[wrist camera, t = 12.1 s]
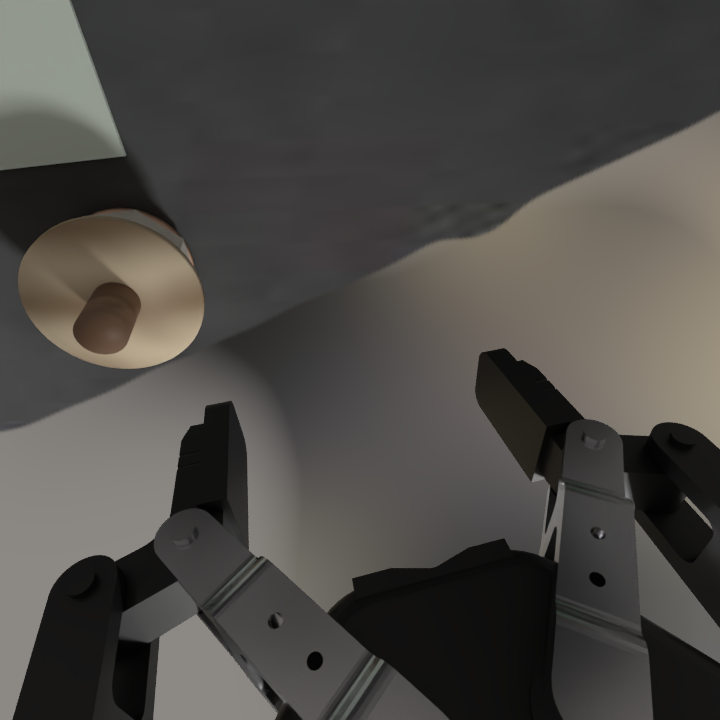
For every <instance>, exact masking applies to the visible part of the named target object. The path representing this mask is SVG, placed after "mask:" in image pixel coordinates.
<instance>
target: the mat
mask: <svg viewBox="0 0 720 720" xmlns="http://www.w3.org/2000/svg"><path fill="white" fill-rule="evenodd" d="M123 156H126V153H125V150H124V147H123V144H122V141H121V139H120V136H119V133H118V130H117V128H116V125H115V122H114V119H113V116H112V114H111V111H110V108H109V105H108V103H107V100H106V97H105V94H104V91H103V89H102V86H101V83H100V80H99V78H98V75H97V72H96V69H95V66H94V64H93V61H92V58H91V55H90V52H89V50H88V47H87V44H86V41H85V39H84V36H83V33H82V30H81V27H80V25H79V22H78V19H77V16H76V14H75V11H74V8H73V5H72V2H71V0H0V170H7V169H16V168H25V167H34V166H43V165H51V164H60V163H69V162H78V161H87V160H96V159H105V158H114V157H123Z"/></svg>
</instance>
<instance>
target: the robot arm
mask: <svg viewBox="0 0 720 720" xmlns="http://www.w3.org/2000/svg"><path fill="white" fill-rule="evenodd" d="M475 392H476V398H477V401H478V404H479V406H480V407H481V409H482V410H483V412H484V413H485V415H486V416H487V418H488V419H489V421H490V422H491V423H492V425H493V426H494V428H495V429H496V431H497V432H498V434H499V435H500V437H501V438H502V440H503V441H504V443H505V444H506V446H507V447H508V449H509V450H510V451H511V453H512V454H513V456H514V457H515V459H516V460H517V462H518V463H519V464H520V466H521V468H522V469H523V471H524V472H525V473H526V475H527V476H528V478H529V479H530V481H531V482H535V481H539V480H543V479H546V481H547V482H548V483H549V488H548V492H547V500H546V509H545V517H544V525H543V533H542V541H541V546H540V551H539V555H536V554H533V553H529V552H525V551H518V550H510V548H509V546H508V545H507V543H506V541H505V539H500V540H496V541H492V542H488V543H485V544H481V545H478V546H473V547H470V548H468V549H466V550H464V551H462V552H461V553H459V554H457V555H455V556H454V557H452V558H450V559H449V560H447V561H446V562H444V563H442V564H440V565H439V566H437V567H434V568H390V569H386V570H382V571H379V572H375V573H371V574H367V575H364V576H360V577H356V578H353V579H352V581H353V587H354V591H352V592H351V593H349V594H347V595H346V596H344V597H343V598H342V599H341V600H339V601H338V602H337V603H336V604H335V605H334V606H333V607H332V608H331V609H330V610H329V612H328V613H326V612H325V611H324V610H323V609H322V608H321V607H320V606H319V605H317V604H316V603H315V602H314V601H313V600H312V599H311V598H310V597H309V596H308V595H307V594H305V593H304V592H303V591H302V590H301V589H300V588H299V587H298V586H297V585H296V584H295V583H293V582H292V581H291V580H290V579H289V578H288V577H287V576H286V575H285V574H284V573H283V572H281V571H280V570H279V569H278V568H277V567H276V566H275V565H274V564H273V563H271V562H270V561H269V560H268V559H266V558H265V557H262V556H261V557H259V558H257V557H256V556H254V555H253V554H252V553H251V552H250V551H249V546H248V545H249V541H248V487H247V452H246V444H245V439H244V436H243V432H242V429H241V426H240V423H239V420H238V417H237V414H236V411H235V408H234V405H233V403H232V401H228V402H223V403H218V404H213V405H208V406H206V408H205V416H204V424H199V425H194V426H191V427H190V428H189V430H188V432H187V433H186V434H185V436H184V438H183V439H182V441H181V448H180V458H179V462H178V470H177V475H176V481H175V488H174V495H173V501H172V508H171V514H170V518H169V519H167V520H166V521H165V522H164V523H163V524H162V525H161V527H160V528H159V530H158V532H157V533H156V536H155V539H153V540H152V541H151V542H150V543H148V544H147V545H145V546H143V547H142V548H140V549H138V550H136V551H134V552H132V553H131V554H129V555H127V556H125V557H123V558H121V559H119V560H117V561H115V562H114V560H113V559H111V558H110V557H107V556H102V555H96V556H91V557H88V558H85V559H83V560H81V561H79V562H77V563H75V564H74V565H72V566H71V567H70V568H68V569H67V570H66V571H65V572H64V573H63V574H62V575H61V576H60V577H59V578H58V580H57V581H56V582H55V584H54V586H53V587H52V589H51V591H50V594H49V596H48V600H47V603H46V607H45V610H44V613H43V617H42V620H41V624H40V628H39V631H38V634H37V638H36V641H35V644H34V648H33V651H32V655H31V658H30V662H29V665H28V669H27V672H26V675H25V679H24V683H23V686H22V689H21V692H20V696H19V699H18V703H17V706H16V710H15V713H14V716H13V720H153V712H154V699H155V687H156V674H157V661H158V649H159V637H160V636H161V635H163V634H164V633H166V632H167V631H169V630H171V629H172V628H174V627H176V626H177V625H179V624H181V623H182V622H184V621H186V620H187V619H189V618H190V617H192V616H194V615H195V614H197V615H198V617H199V618H200V619H201V620H202V621H203V623H204V624H205V625H206V626H207V627H208V629H209V630H210V631H211V632H212V633H213V635H214V636H215V637H216V638H217V639H218V640H219V642H220V643H221V644H222V645H223V646H224V648H225V649H226V650H227V651H228V652H229V653H230V655H231V656H232V657H233V658H234V659H235V661H236V662H237V663H238V665H240V667H241V669H242V670H243V671H244V672H245V674H246V675H247V677H248V678H249V679H250V680H251V682H252V683H253V684H254V685H255V687H256V688H257V689H258V690H259V692H260V693H261V694H262V695H263V696H264V698H265V699H266V700H267V701H268V702H269V704H270V705H271V706H272V707H273V708H274V709H275V711H276V712H277V713H278V714H277V717H276V719H275V720H720V663H718V662H717V661H715V660H713V659H712V658H710V657H709V656H707V655H705V654H704V653H702V652H700V651H699V650H697V649H696V648H694V647H692V646H691V645H689V644H687V643H686V642H684V641H682V640H681V639H679V638H677V637H676V636H674V635H673V634H671V633H669V632H667V631H666V630H664V629H663V628H661V627H660V626H658V625H656V624H655V623H653V622H651V621H650V620H648V619H646V618H645V617H643V616H642V615H640V603H639V587H638V570H637V569H638V568H637V553H636V535H635V519H636V521H637V522H638V523H639V524H640V526H641V527H642V528H643V530H644V531H645V532H646V533H647V535H648V536H649V537H650V539H651V540H652V541H653V543H654V544H655V545H656V546H657V548H658V549H659V550H660V552H661V553H662V554H663V555H664V557H665V558H666V559H667V561H668V562H669V563H670V564H671V566H672V567H673V568H674V570H675V571H676V572H677V573H678V575H679V576H680V577H681V579H682V580H683V581H684V583H685V584H686V585H687V586H688V588H689V589H690V590H691V592H692V593H693V594H694V595H695V597H696V598H697V599H698V601H699V602H700V603H701V604H702V606H703V607H704V608H705V610H706V611H707V612H708V613H709V615H710V616H711V617H712V618H713V620H714V621H715V623H716V624H717V625H718V626H719V627H720V449H719V448H718V447H716V446H715V445H714V444H713V443H712V442H711V441H710V440H709V439H707V438H706V437H705V436H704V435H703V434H701V433H700V432H698V431H697V430H695V429H693V428H691V427H688V426H685V425H682V424H678V423H670V422H667V423H661V424H658V425H656V426H655V427H654V428H653V429H652V431H651V434H650V435H649V436H633V435H619V434H618V433H617V432H616V431H615V430H613V429H612V428H611V427H609V426H608V425H606V424H604V423H601V422H599V421H595V420H587V419H584V418H583V416H582V415H581V414H580V413H579V412H578V411H577V410H576V409H575V408H574V407H573V406H572V405H571V404H570V403H569V402H568V401H567V399H566V398H565V397H564V396H563V395H562V394H561V393H560V392H559V391H558V390H557V389H555V387H554V386H553V385H552V384H551V383H550V381H547V378H546V377H545V376H544V375H543V374H542V373H541V372H540V371H539V370H538V369H537V368H536V367H534V366H532V365H530V364H528V363H527V362H524V361H523V360H521V361H516V359H515V358H514V357H513V356H512V355H511V354H510V353H509V352H508V351H507V350H506V349H504V348H502V349H497V350H492V351H487V352H482V353H481V354H480V356H479V362H478V371H477V379H476V387H475ZM686 496H687V497H688V498H689V499H690V500H691V501H692V502H693V504H695V506H696V507H697V508H698V509H699V510H700V511H701V512H702V513H703V514H704V515H705V517H706V518H707V519H708V520H709V522H710V523H711V526H712V529H713V530H712V529H711V528H710V527H709V526H708V525H707V524H706V523H705V522H704V521H703V519H702V518H701V517H700V516H699V515H698V514H697V513H696V512H695V511H694V510H693V509H692V508H691V506H690V505H689V504H688V503H687V502H686V501H685V500H684V499H685V497H686Z"/></svg>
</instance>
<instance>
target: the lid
mask: <svg viewBox="0 0 720 720" xmlns="http://www.w3.org/2000/svg"><path fill="white" fill-rule="evenodd" d="M18 288H19V293H20V298H21V301H22V303H23V306H24V308H25V310H26V312H27V314H28V316H29V317H30V319H31V320H32V322H33V323H34V325H35V326H36V327H37V328H38V329H39V330H40V332H41V333H42V334H43V335H44V336H46V337H47V338H48V339H49V340H50V341H51V342H52V343H54V344H55V345H57V346H58V347H59V348H61V349H62V350H64V351H66V352H68V353H69V354H71V355H73V356H75V357H78V358H80V359H82V360H85V361H88V362H90V363H93V364H97V365H101V366H106V367H112V368H123V369H131V368H143V367H149V366H153V365H157V364H160V363H163V362H166V361H168V360H170V359H172V358H174V357H175V356H177V355H178V354H180V353H181V352H182V351H183V350H185V349H186V348H187V347H188V346H189V345H190V344H191V342H192V341H193V340H194V338H195V337H196V335H197V333H198V331H199V329H200V327H201V324H202V319H203V314H204V304H205V300H204V291H203V287H202V283H201V281H200V278H199V275H198V273H197V271H196V270H195V268H194V266H193V265H192V263H191V262H190V260H189V259H188V258H187V256H186V255H185V254H184V253H183V252H182V251H181V250H180V249H179V248H178V247H177V246H176V245H175V244H173V243H172V242H171V241H170V240H169V239H167V238H166V237H164V236H163V235H161V234H160V233H158V232H156V231H154V230H152V229H151V228H149V227H147V226H144V225H142V224H139V223H137V222H133V221H130V220H126V219H123V218H117V217H111V216H84V217H79V218H74V219H70V220H67V221H64V222H62V223H59V224H58V225H56V226H54V227H52V228H50V229H49V230H48V231H46V232H45V233H44V234H42V235H41V236H40V237H39V238H38V239H37V240H36V241H35V242H34V243H33V244H32V245H31V246H30V247H29V249H28V250H27V252H26V253H25V255H24V257H23V259H22V262H21V265H20V269H19V274H18Z"/></svg>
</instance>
